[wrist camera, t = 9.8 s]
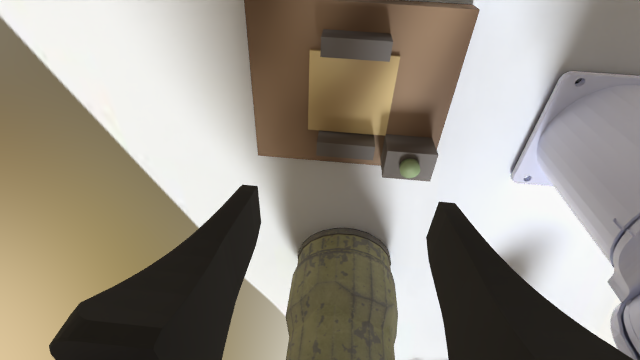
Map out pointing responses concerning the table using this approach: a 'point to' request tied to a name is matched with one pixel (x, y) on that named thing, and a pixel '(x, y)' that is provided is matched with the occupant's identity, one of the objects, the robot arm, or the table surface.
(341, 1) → the brown stand base
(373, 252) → the thermos
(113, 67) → the table surface
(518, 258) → the table surface
